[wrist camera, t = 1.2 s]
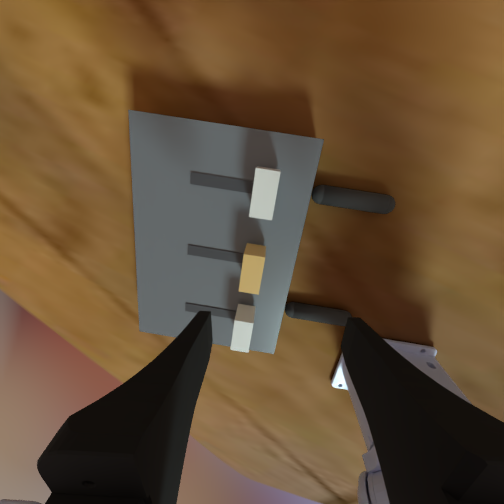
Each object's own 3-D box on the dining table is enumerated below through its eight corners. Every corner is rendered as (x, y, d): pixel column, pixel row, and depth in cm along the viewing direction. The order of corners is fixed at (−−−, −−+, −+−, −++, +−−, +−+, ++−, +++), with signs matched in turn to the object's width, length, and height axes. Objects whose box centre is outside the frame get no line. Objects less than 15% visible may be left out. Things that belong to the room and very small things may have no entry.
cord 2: (351, 308, 25) (356, 318, 24) (347, 320, 26) (351, 330, 24) (286, 297, 25) (287, 306, 24) (283, 310, 26) (284, 319, 25)
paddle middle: (266, 246, 20) (265, 257, 17) (260, 279, 21) (258, 294, 19) (246, 243, 20) (243, 254, 17) (242, 276, 21) (238, 291, 19)
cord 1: (392, 194, 21) (402, 197, 19) (386, 212, 21) (394, 217, 20) (312, 182, 21) (315, 184, 19) (308, 200, 21) (311, 204, 20)
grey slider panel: (316, 141, 19) (324, 139, 17) (273, 333, 27) (273, 354, 24) (148, 116, 20) (127, 109, 17) (153, 313, 27) (139, 331, 24)
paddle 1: (255, 306, 22) (253, 323, 20) (250, 333, 23) (248, 352, 21) (238, 303, 22) (234, 320, 20) (234, 331, 23) (230, 349, 21)
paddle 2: (279, 169, 17) (280, 171, 15) (271, 212, 18) (271, 220, 16) (257, 166, 17) (255, 167, 15) (251, 209, 19) (248, 216, 16)
